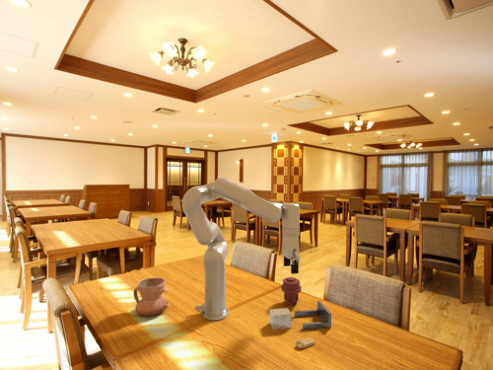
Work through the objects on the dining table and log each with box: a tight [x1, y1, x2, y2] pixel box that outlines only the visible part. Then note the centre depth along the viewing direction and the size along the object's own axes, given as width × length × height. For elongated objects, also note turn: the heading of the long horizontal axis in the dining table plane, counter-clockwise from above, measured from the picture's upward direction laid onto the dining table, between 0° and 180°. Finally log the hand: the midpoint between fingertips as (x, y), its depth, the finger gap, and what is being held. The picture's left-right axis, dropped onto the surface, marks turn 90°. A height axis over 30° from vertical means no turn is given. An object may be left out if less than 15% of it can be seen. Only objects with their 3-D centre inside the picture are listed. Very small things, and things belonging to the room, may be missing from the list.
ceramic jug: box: [133, 277, 169, 317], centre depth 125 cm, size 18×14×14 cm
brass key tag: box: [295, 336, 316, 350], centre depth 100 cm, size 7×3×1 cm, turn 119°
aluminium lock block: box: [269, 307, 293, 330], centre depth 113 cm, size 9×5×6 cm, turn 99°
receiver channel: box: [293, 300, 332, 331], centre depth 116 cm, size 12×11×6 cm
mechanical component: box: [281, 276, 302, 306], centre depth 133 cm, size 12×10×10 cm
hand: (290, 269), depth 118 cm, fingers open, 9 cm apart
